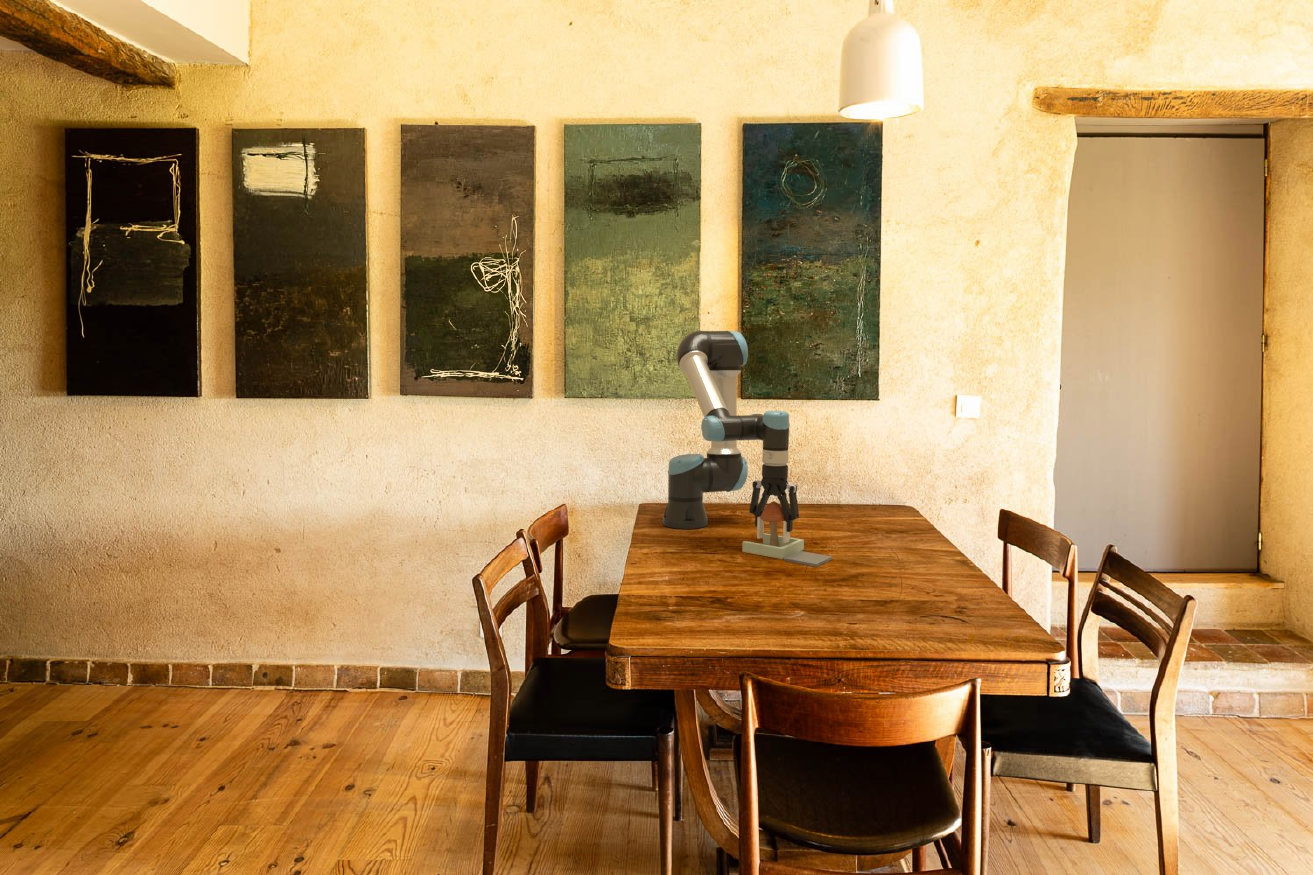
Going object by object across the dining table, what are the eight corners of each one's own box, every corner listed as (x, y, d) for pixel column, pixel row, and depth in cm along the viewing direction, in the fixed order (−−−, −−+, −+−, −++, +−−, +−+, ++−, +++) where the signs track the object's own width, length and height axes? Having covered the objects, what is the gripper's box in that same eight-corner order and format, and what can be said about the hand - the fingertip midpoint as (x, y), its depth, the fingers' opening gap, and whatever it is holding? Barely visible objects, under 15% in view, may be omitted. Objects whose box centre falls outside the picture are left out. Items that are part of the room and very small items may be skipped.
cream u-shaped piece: (742, 551, 242) (742, 541, 242) (764, 542, 253) (765, 533, 253) (782, 559, 235) (782, 548, 234) (803, 549, 245) (804, 539, 245)
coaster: (784, 560, 233) (784, 558, 233) (800, 553, 241) (800, 550, 241) (816, 566, 227) (816, 564, 227) (832, 559, 235) (832, 556, 235)
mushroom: (755, 551, 242) (756, 501, 240) (764, 545, 249) (766, 497, 247) (781, 555, 238) (782, 504, 237) (790, 549, 245) (791, 499, 244)
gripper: (737, 461, 244) (736, 537, 247) (801, 469, 231) (799, 548, 234) (750, 459, 250) (749, 532, 253) (813, 465, 237) (810, 542, 240)
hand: (773, 539), depth 243 cm, fingers closed on mushroom, 8 cm apart
